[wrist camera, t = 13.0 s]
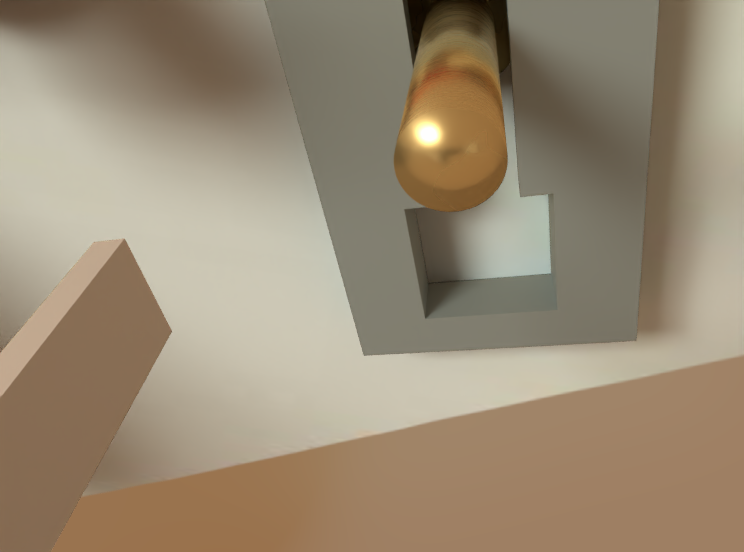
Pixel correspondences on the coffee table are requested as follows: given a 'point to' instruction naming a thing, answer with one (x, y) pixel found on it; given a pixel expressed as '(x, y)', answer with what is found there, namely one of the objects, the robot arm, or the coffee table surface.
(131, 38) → the coffee table surface
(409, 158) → the brass peg
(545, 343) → the keyhole board
